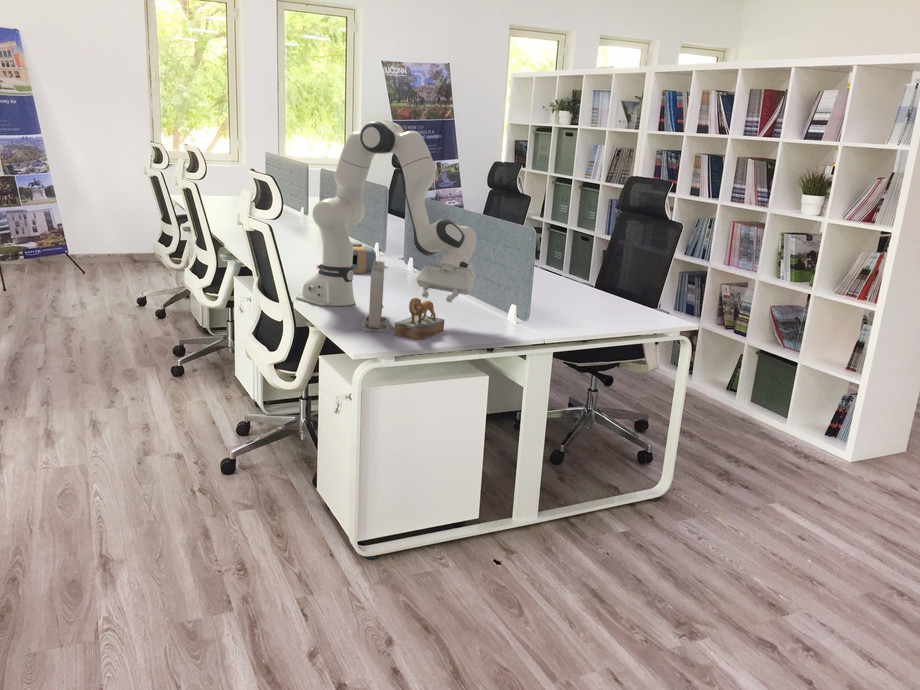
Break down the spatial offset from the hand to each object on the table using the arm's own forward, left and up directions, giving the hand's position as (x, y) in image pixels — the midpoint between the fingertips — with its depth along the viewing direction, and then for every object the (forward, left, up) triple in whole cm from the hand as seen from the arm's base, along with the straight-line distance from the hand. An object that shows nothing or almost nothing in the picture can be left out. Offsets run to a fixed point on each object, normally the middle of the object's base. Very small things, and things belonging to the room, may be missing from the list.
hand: (436, 298), depth 272 cm
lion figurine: (+1, -11, -6) cm, 13 cm away
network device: (-17, -11, -10) cm, 23 cm away
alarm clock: (-81, +71, -10) cm, 108 cm away
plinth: (0, -11, -10) cm, 14 cm away
